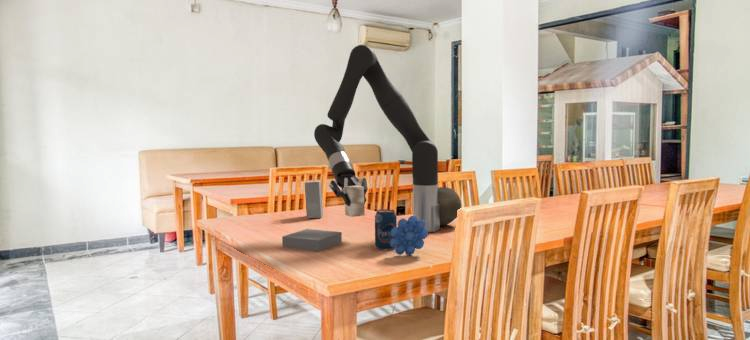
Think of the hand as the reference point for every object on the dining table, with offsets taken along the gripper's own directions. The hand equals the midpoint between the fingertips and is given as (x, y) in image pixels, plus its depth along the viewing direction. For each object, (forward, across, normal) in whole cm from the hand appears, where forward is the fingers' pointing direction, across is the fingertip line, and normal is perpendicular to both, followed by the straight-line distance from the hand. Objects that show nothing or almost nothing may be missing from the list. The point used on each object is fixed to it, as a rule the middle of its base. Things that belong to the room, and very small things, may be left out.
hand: (356, 203), depth 175 cm
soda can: (+20, +2, -2) cm, 20 cm away
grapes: (+28, +4, -10) cm, 30 cm away
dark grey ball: (+5, +40, +14) cm, 42 cm away
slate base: (+9, -16, +9) cm, 21 cm away
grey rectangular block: (-28, +4, +45) cm, 53 cm away
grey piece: (+2, 0, +4) cm, 5 cm away
